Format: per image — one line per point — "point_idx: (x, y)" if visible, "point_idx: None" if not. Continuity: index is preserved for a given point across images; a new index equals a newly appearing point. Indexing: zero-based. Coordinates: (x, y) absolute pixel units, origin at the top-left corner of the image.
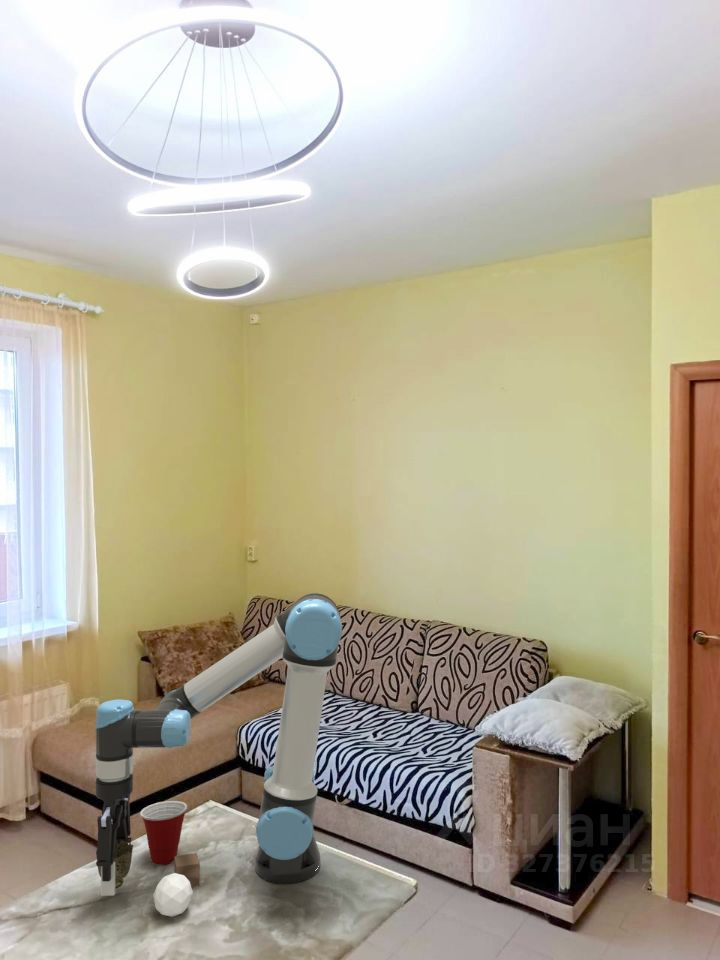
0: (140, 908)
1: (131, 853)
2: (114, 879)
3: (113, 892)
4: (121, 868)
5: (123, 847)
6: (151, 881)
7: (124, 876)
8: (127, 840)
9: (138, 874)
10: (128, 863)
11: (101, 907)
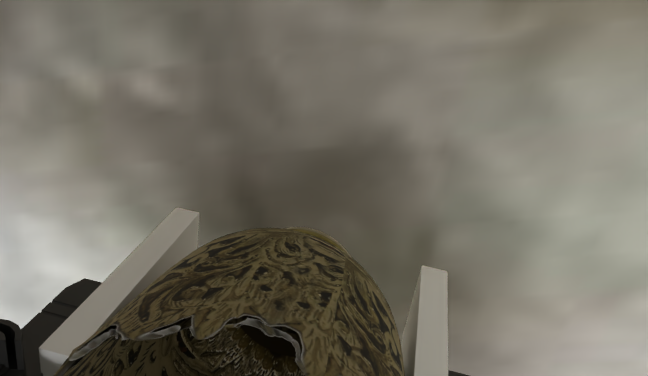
0: (433, 64)
1: (247, 307)
2: (439, 339)
3: (447, 286)
4: (385, 333)
5: (91, 367)
6: (120, 24)
7: (346, 254)
8: (2, 365)
9: (48, 113)
10: (321, 285)
11: (376, 280)
